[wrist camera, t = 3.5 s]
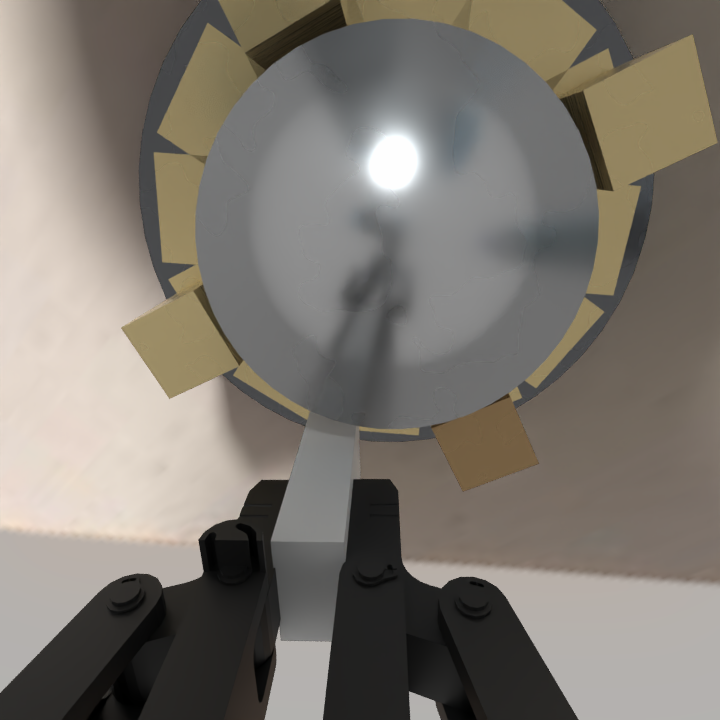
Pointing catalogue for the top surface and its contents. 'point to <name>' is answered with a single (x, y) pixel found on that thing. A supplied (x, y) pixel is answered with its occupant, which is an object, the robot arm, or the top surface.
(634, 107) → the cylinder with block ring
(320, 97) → the cap plate
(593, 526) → the top surface
